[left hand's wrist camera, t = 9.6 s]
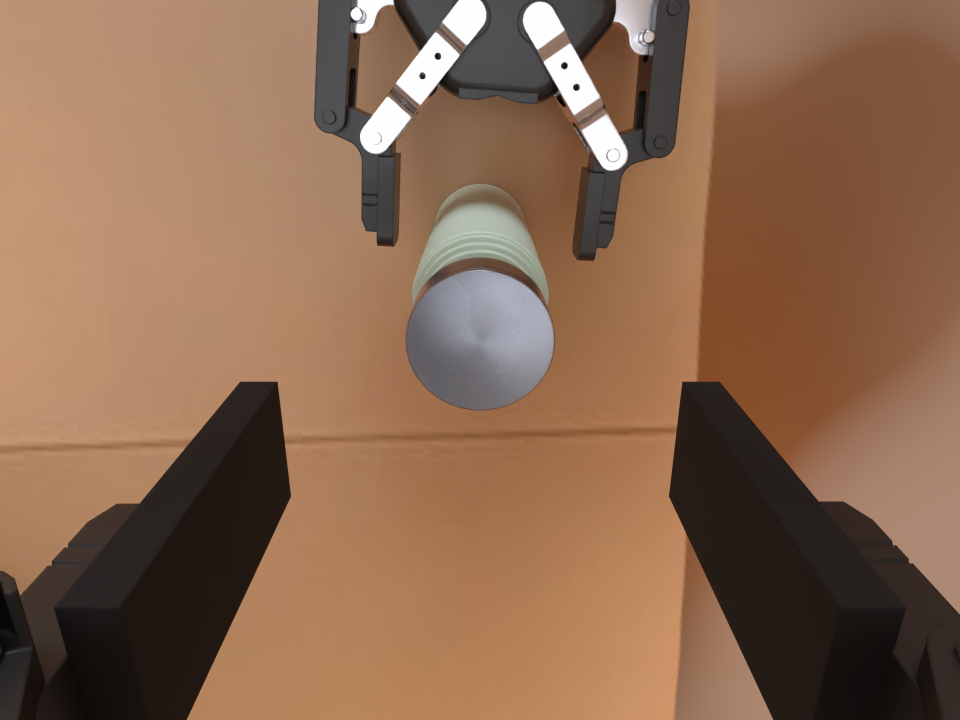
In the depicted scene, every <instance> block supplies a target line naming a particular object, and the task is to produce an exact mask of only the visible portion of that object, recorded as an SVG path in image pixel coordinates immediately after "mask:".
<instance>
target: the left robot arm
mask: <svg viewBox="0 0 960 720" xmlns="http://www.w3.org/2000/svg"><path fill="white" fill-rule="evenodd" d="M290 497H291V492H290V484H289V476H288V467H287V459H286V450H285V442H284V433H283V425H282V416H281V408H280V399H279V391H278V382H240V383H239V384H238V385H237V387H236V388H235V389H234V390H233V391H232V393H231V394H230V395H229V396H228V397H227V399H226V400H225V401H224V402H223V403H222V405H221V406H220V407H219V408H218V410H217V411H216V412H215V413H214V414H213V416H212V417H211V418H210V419H209V420H208V422H207V423H206V424H205V425H204V426H203V428H202V429H201V430H200V431H199V433H198V434H197V435H196V436H195V437H194V439H193V440H192V441H191V442H190V443H189V445H188V446H187V447H186V448H185V449H184V451H183V452H182V453H181V454H180V456H179V457H178V458H177V459H176V460H175V462H174V463H173V464H172V465H171V466H170V468H169V469H168V470H167V471H166V472H165V474H164V475H163V476H162V477H161V479H160V480H159V481H158V482H157V483H156V485H155V486H154V487H153V488H152V489H151V491H150V492H149V493H148V494H147V495H146V497H145V498H144V499H143V500H142V501H141V503H140V504H116V505H114V506H113V507H111V508H109V509H108V510H106V511H105V512H103V513H101V514H100V515H98V516H97V517H95V518H93V519H92V520H90V521H89V522H87V523H86V525H85V526H84V527H83V528H82V529H81V530H80V531H79V532H78V533H77V534H76V536H75V537H74V538H73V539H72V540H71V541H70V542H69V543H68V548H64V549H63V550H62V551H61V552H60V553H59V554H58V555H57V556H56V557H55V559H54V560H53V561H52V565H51V566H47V567H46V568H45V570H44V571H43V572H42V573H41V574H40V575H39V576H38V577H37V578H36V579H35V581H34V582H33V583H32V584H31V585H30V586H29V587H28V588H27V589H26V590H25V591H24V593H23V594H22V595H21V596H20V595H19V592H18V588H17V585H16V582H15V579H14V578H13V577H11V576H10V575H8V574H7V573H5V572H4V571H0V720H187V718H188V716H189V713H190V711H191V709H192V707H193V705H194V703H195V701H196V698H197V696H198V694H199V692H200V690H201V688H202V686H203V683H204V681H205V679H206V677H207V675H208V673H209V671H210V668H211V666H212V664H213V662H214V660H215V658H216V656H217V654H218V651H219V649H220V647H221V645H222V643H223V641H224V639H225V636H226V634H227V632H228V630H229V628H230V626H231V624H232V621H233V619H234V617H235V615H236V613H237V611H238V609H239V606H240V604H241V602H242V600H243V598H244V596H245V594H246V591H247V589H248V587H249V585H250V583H251V581H252V579H253V576H254V574H255V572H256V570H257V568H258V566H259V564H260V562H261V559H262V557H263V555H264V553H265V551H266V549H267V547H268V544H269V542H270V540H271V538H272V536H273V534H274V532H275V529H276V527H277V525H278V523H279V521H280V519H281V517H282V514H283V512H284V510H285V508H286V506H287V504H288V502H289V499H290ZM669 497H670V499H671V502H672V504H673V506H674V508H675V510H676V512H677V514H678V517H679V519H680V521H681V523H682V525H683V527H684V529H685V532H686V534H687V536H688V538H689V540H690V542H691V544H692V546H693V549H694V551H695V553H696V555H697V557H698V559H699V561H700V564H701V566H702V568H703V570H704V572H705V574H706V576H707V579H708V581H709V583H710V585H711V587H712V589H713V591H714V594H715V596H716V598H717V600H718V602H719V604H720V606H721V609H722V611H723V613H724V615H725V617H726V619H727V621H728V624H729V626H730V628H731V630H732V632H733V634H734V636H735V639H736V641H737V643H738V645H739V647H740V649H741V651H742V654H743V656H744V658H745V660H746V662H747V664H748V666H749V668H750V670H751V673H752V675H753V677H754V679H755V681H756V683H757V686H758V688H759V690H760V692H761V694H762V696H763V698H764V701H765V703H766V705H767V707H768V709H769V711H770V713H771V716H772V718H773V720H960V614H959V613H958V612H957V611H956V610H955V609H954V608H953V607H952V606H951V605H950V604H949V602H948V601H947V600H946V599H945V598H944V597H943V596H942V595H941V594H940V593H939V591H938V590H937V589H936V588H935V587H934V586H933V585H932V584H931V583H930V582H929V581H928V580H927V578H926V577H925V576H924V575H923V574H922V573H921V572H920V571H919V570H918V569H917V568H916V566H915V565H914V564H910V563H909V559H908V558H907V557H906V556H905V554H904V553H903V552H902V551H901V550H900V549H899V548H898V547H897V546H896V545H893V544H892V540H891V539H890V538H889V537H888V536H887V535H886V534H885V533H884V532H883V530H882V529H881V528H880V527H879V526H878V525H877V524H876V523H875V522H874V521H873V520H872V519H871V518H869V517H867V516H866V515H864V514H862V513H861V512H859V511H858V510H856V509H855V508H853V507H851V506H850V505H848V504H847V503H845V502H819V501H818V500H817V499H816V498H815V497H814V495H813V494H812V493H811V492H810V491H809V489H808V488H807V487H806V486H805V485H804V483H803V482H802V481H801V480H800V478H799V477H798V476H797V475H796V474H795V472H794V471H793V470H792V469H791V468H790V466H789V465H788V464H787V463H786V462H785V460H784V459H783V458H782V457H781V456H780V454H779V453H778V452H777V451H776V450H775V448H774V447H773V446H772V445H771V443H770V442H769V441H768V440H767V439H766V437H765V436H764V435H763V434H762V433H761V431H760V430H759V429H758V428H757V427H756V425H755V424H754V423H753V422H752V420H751V419H750V418H749V417H748V416H747V414H746V413H745V412H744V411H743V410H742V408H741V407H740V406H739V405H738V403H737V402H736V401H735V400H734V399H733V397H732V396H731V395H730V394H729V393H728V391H727V390H726V389H725V388H724V387H723V385H722V384H721V383H720V382H682V391H681V399H680V408H679V416H678V425H677V433H676V442H675V450H674V459H673V467H672V476H671V484H670V493H669Z"/></svg>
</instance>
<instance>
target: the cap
mask: <svg viewBox="0 0 960 720" xmlns="http://www.w3.org/2000/svg"><path fill="white" fill-rule="evenodd" d="M554 347H555V332H554V327H553V322H552V319H551V316H550V313H549V310H548V307H547V303H546V300H545V298H544V296H543V294H542V292H541V290H540V289H539V287H538V286H537V284H536V283H535V282H534V281H533V280H532V279H531V278H530V277H529V276H528V275H527V274H526V273H525V272H523V271H522V270H520V269H519V268H517V267H516V266H514V265H512V264H510V263H507V262H504V261H501V260H498V259H493V258H483V257H477V258H468V259H463V260H459V261H456V262H453V263H451V264H449V265H447V266H445V267H443V268H442V269H440V270H439V271H437V272H436V273H435V274H434V275H433V276H431V277H430V278H429V279H428V281H427V282H426V283H425V284H424V285H423V287H422V288H421V290H420V291H419V293H418V295H417V297H416V299H415V302H414V305H413V308H412V312H411V315H410V318H409V321H408V325H407V330H406V350H407V355H408V359H409V362H410V365H411V367H412V369H413V371H414V373H415V375H416V376H417V378H418V379H419V381H420V382H421V383H422V384H423V386H424V387H425V388H426V389H427V390H428V391H430V392H431V393H432V394H433V395H435V396H436V397H437V398H439V399H441V400H442V401H444V402H446V403H449V404H451V405H453V406H456V407H460V408H464V409H469V410H491V409H497V408H501V407H504V406H507V405H510V404H512V403H514V402H516V401H518V400H520V399H521V398H523V397H525V396H526V395H527V394H529V393H530V392H531V391H532V390H533V389H534V388H535V387H536V386H537V385H538V384H539V383H540V381H541V380H542V379H543V377H544V376H545V374H546V372H547V371H548V369H549V366H550V364H551V361H552V358H553V354H554Z"/></svg>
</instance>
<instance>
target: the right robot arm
mask: <svg viewBox="0 0 960 720" xmlns="http://www.w3.org/2000/svg"><path fill="white" fill-rule="evenodd" d="M393 7H394V8H395V10H396V12H397V14H398V16H399V18H400V19H401V21H402V23H403V24H404V26H405V28H406V29H407V31H408V33H409V34H410V36H411V38H412V39H413V41H414V43H415V44H416V46H417V48H418V49H419V51H420V52H419V54H418V55H417V56H416V58H415V59H414V60H413V62H412V63H411V64H410V65H409V67H408V68H407V69H406V71H405V72H404V73H403V75H402V76H401V77H400V78H399V80H398V81H397V82H396V84H395V85H394V87H393V88H392V90H391V92H390V93H389V95H388V96H387V97H386V99H385V100H384V101H383V103H382V104H381V105H380V106H379V108H378V109H377V110H376V112H375V113H374V114H373V115H371V114H369V113H367V112H365V111H363V110H361V109H358V108H356V97H357V81H358V64H359V48H360V35H369V34H371V33H372V32H374V31H375V29H376V28H377V25H378V21H379V18H380V15H381V14H382V13H383V12H384V11H385V10H386V9H388V8H393ZM689 9H690V4H689V0H319V6H318V32H317V57H316V82H315V107H314V119H315V123H316V125H317V126H318V128H319V129H320V130H322V131H323V132H325V133H331V134H334V135H336V136H338V137H340V138H343V139H345V140H347V141H349V142H351V143H353V144H354V145H355V146H356V147H357V148H358V150H359V152H360V154H361V158H362V221H363V224H364V226H365V229H366V231H372V232H377V245H378V246H389V247H394V246H395V244H396V242H397V240H398V234H399V202H400V163H401V153H396V141H397V140H398V139H399V138H400V136H401V135H402V134H403V133H404V131H405V130H406V129H407V127H408V126H409V125H410V124H411V122H412V121H413V120H414V119H415V117H416V116H417V115H418V114H419V113H420V111H421V110H422V109H423V108H424V107H425V106H426V104H427V103H428V102H429V101H430V99H431V98H432V97H433V96H434V94H435V93H436V92H437V91H438V89H439V88H440V87H441V86H442V87H443V88H444V89H445V90H446V91H447V92H449V93H450V94H452V95H454V96H457V97H458V98H461V99H475V100H479V99H484V98H488V97H493V96H500V97H503V98H506V99H509V100H511V101H514V102H517V103H529V104H537V103H539V102H542V101H545V100H547V99H549V98H551V97H552V96H554V98H555V99H556V101H557V103H558V105H559V106H560V108H561V110H562V111H563V113H564V115H565V116H566V118H567V120H568V121H569V122H570V124H571V125H572V127H573V129H574V130H575V132H576V134H577V135H578V137H579V139H580V141H581V142H582V144H583V146H584V148H585V149H586V151H587V153H588V155H589V159H588V167H582V171H581V179H580V187H579V196H578V204H577V212H576V221H575V229H574V237H573V254H574V256H575V257H576V259H577V260H583V261H594V259H595V255H596V248H607V246H608V245H609V243H610V241H611V239H612V237H613V231H614V223H615V217H616V210H617V203H618V196H619V189H620V182H621V177H622V175H623V173H624V171H625V170H626V169H627V168H628V167H629V166H630V165H632V164H634V163H637V162H641V161H644V160H648V159H651V158H663V157H665V156H667V155H669V154H670V153H671V151H672V150H673V148H674V146H675V140H676V130H677V121H678V112H679V102H680V93H681V84H682V74H683V65H684V56H685V46H686V37H687V28H688V18H689ZM612 24H613V25H616V26H617V27H619V28H620V29H621V30H622V32H623V34H624V40H625V47H626V49H627V51H628V52H629V53H630V54H632V55H634V56H639V65H638V77H637V88H636V100H635V112H634V124H633V129H629V130H626V131H622V132H619V133H618V131H617V129H616V127H615V126H614V124H613V122H612V120H611V118H610V117H609V115H608V113H607V111H606V109H605V105H604V102H603V100H602V98H601V96H600V95H599V93H598V91H597V89H596V87H595V86H594V84H593V82H592V80H591V78H590V77H589V75H588V73H587V71H586V69H585V67H584V66H583V64H582V62H583V61H584V60H585V58H586V57H587V56H588V55H589V53H590V52H591V51H592V50H593V48H594V47H595V46H596V45H597V44H598V42H599V41H600V40H601V39H602V37H603V36H604V35H605V34H606V33H607V31H608V30H609V29H610V27H611V25H612Z"/></svg>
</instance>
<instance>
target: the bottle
mask: <svg viewBox="0 0 960 720" xmlns="http://www.w3.org/2000/svg"><path fill="white" fill-rule="evenodd" d="M477 257H483V258H493V259H498V260H501V261H504V262H507V263H510V264H512V265H514V266H516V267H517V268H519V269H520V270H522V271H523V272H525V273H526V274H527V275H528V276H529V277H530V278H531V279H532V280H533V281H534V282H535V283H536V284H537V286H538V287H539V289H540V290H541V292H542V294H543V296H544V298H545V300H546V303H547V307H548V305H549V290H548V284H547V280H546V277H545V274H544V271H543V268H542V265H541V262H540V260H539V257H538V254H537V251H536V248H535V245H534V243H533V240H532V237H531V234H530V231H529V229H528V226H527V223H526V220H525V217H524V214H523V212H522V210H521V208H520V206H519V205H518V203H517V202H516V200H515V199H514V198H513V197H512V196H511V195H510V194H508V193H507V192H506V191H504V190H502V189H500V188H498V187H496V186H493V185H488V184H472V185H468V186H465V187H462V188H460V189H458V190H456V191H455V192H453V193H452V194H451V195H450V196H449V197H447V199H446V200H445V201H444V202H443V204H442V205H441V207H440V208H439V211H438V213H437V215H436V218H435V221H434V224H433V227H432V230H431V233H430V235H429V238H428V241H427V244H426V247H425V250H424V252H423V255H422V258H421V261H420V264H419V267H418V269H417V272H416V275H415V279H414V282H413V287H412V308H413V305H414V302H415V299H416V297H417V295H418V293H419V291H420V290H421V288H422V287H423V285H424V284H425V283H426V282H427V281H428V279H429V278H430V277H431V276H433V275H434V274H435V273H436V272H437V271H439V270H440V269H442V268H443V267H445V266H447V265H449V264H451V263H453V262H456V261H459V260H463V259H468V258H477Z"/></svg>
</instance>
